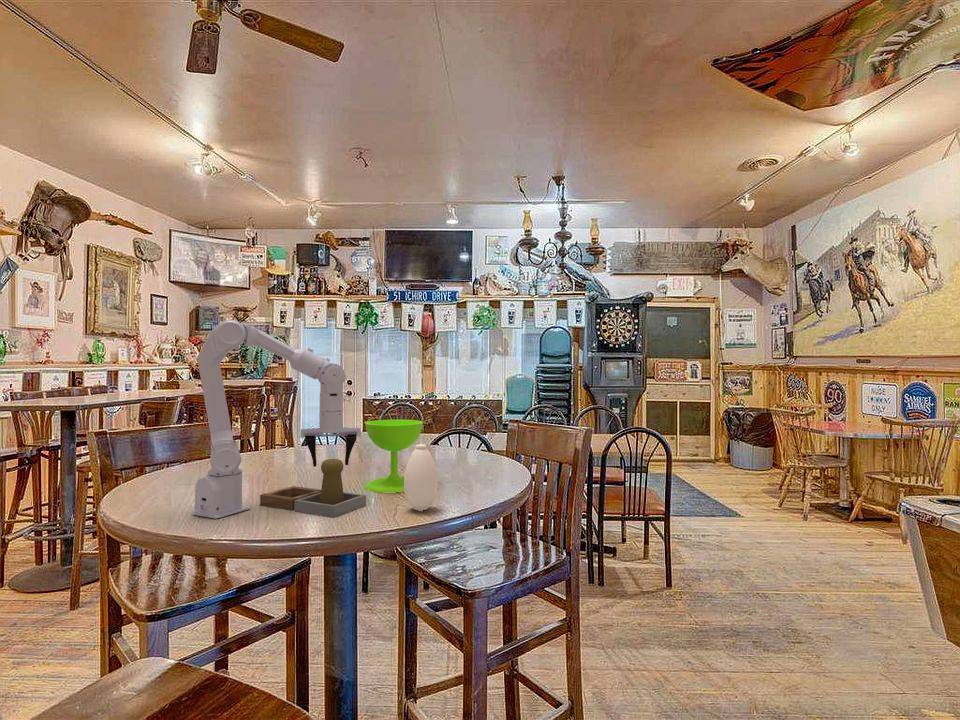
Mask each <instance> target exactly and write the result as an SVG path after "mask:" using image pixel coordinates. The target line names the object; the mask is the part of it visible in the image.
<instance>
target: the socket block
mask: <svg viewBox="0 0 960 720" xmlns="http://www.w3.org/2000/svg"><path fill="white" fill-rule="evenodd" d="M318 493H321V489H317V488H310V487H303V486H294V485H293V486H287V487H284V488H281V489H277V490H272V491H270V492H266V493H261V494H260V495H259V505H260V506H262V505H263V507H269V508H270V507H271V508H275V507H276V508H277V509H282V510H283V509H284V510H288V511H294V500H298V499H301V498H304V497H308V496H311V495H314V494H318Z"/></svg>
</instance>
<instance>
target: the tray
mask: <svg viewBox="0 0 960 720" xmlns="http://www.w3.org/2000/svg"><path fill="white" fill-rule="evenodd" d="M343 493H344V502H341V503H338V504H335V505H329V504H323V503H319V502H320V495H321V493H318V494H314V495H311V496H308V497H304V498H301V499H298V500H294V510H293V511H294V512H297V513H304V514H307V515H314V514H316V515H317V516H320V515H322V517H327V516H328V517H329V518H333V517H334V518H335V517H339V516H341V514H342V515H344V514H347V513H350V512H353V511H355V510H358V509H361V508H363V507H366V506H367V495H365V494H362V493H352V492H345V491H343ZM365 505H366V506H365ZM360 507H361V508H360ZM357 508H358V509H357ZM354 509H355V510H354ZM349 511H350V512H349ZM316 515H315V516H316ZM328 517H327V518H328Z"/></svg>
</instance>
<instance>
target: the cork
mask: <svg viewBox="0 0 960 720" xmlns="http://www.w3.org/2000/svg"><path fill="white" fill-rule="evenodd" d="M320 469H321V470H320V471H321V473H322V475H323V476H322V482H321V489H320V490H321V495H320V502H319V503H323V504H329V505H335V504H338V503H341V502H344V493H343V492H344V487H343V479H342V472H343V471H344V462H343V461H342V460H341V459H338V458H329V459H324V461H322V463H321V465H320Z"/></svg>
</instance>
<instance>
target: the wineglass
mask: <svg viewBox="0 0 960 720" xmlns="http://www.w3.org/2000/svg"><path fill="white" fill-rule="evenodd" d="M423 423H424V422H423V421H422V420H415V419H379V420H370V421H366V422H365V423H364V424H365V431H366V434H367V435H368V438H369V439H370V440H371V442H372V443H373V444H374V445H376V446H377V447H378V448H380V449H381V450H385V451H387V452H390V474H389V475H388V477H382V478H376V479H372V480H370V481H369V482H367V483H366V484H365V486H364V489H365V490H366V491H368V490H369V492H371V491H373V492H372V493H377V492H404V477H403V476H402V477H401V476H400V474H399V473H398V464H399V463H398V461H399V460H398V457H399V456H398V452H400V451H403V450H405V449H407V448H410V447H411V446H412V445H413V444H414V443H416V441H417V440H418V439H419V437H420V436H421V434H422V433H421V432H422V431H423V430H422V429H423V425H424V424H423ZM404 493H405V492H404Z"/></svg>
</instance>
